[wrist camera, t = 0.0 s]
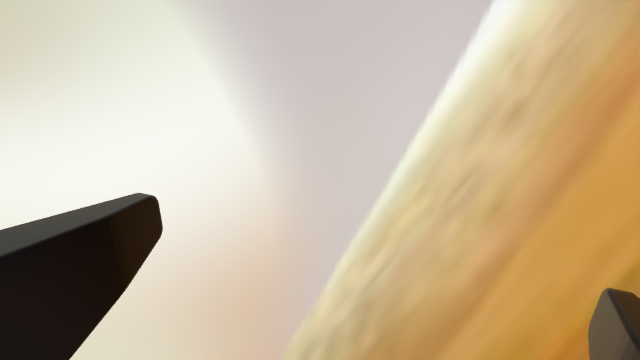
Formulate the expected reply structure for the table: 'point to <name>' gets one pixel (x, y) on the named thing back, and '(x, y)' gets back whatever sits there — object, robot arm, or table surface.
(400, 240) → the table surface
